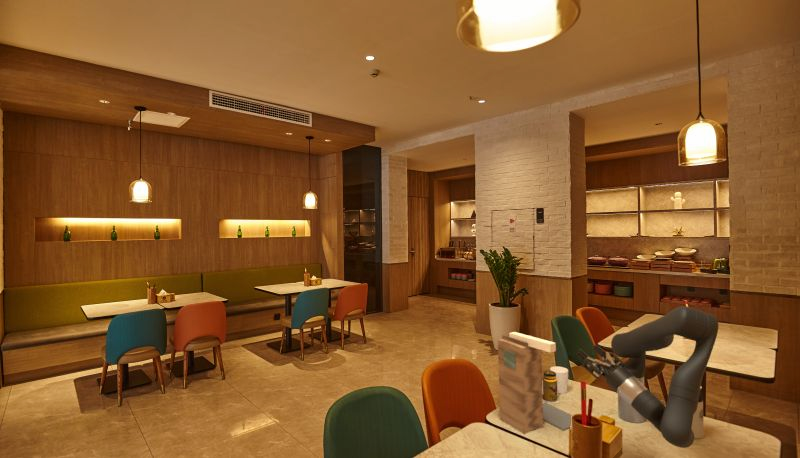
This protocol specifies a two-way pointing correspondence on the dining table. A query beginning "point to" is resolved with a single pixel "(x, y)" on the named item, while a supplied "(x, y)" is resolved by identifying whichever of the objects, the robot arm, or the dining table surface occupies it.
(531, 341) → the ivory plug peg
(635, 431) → the dining table surface
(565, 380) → the white cup
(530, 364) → the walnut tower
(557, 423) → the slate board
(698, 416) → the travel mug
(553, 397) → the condiment
